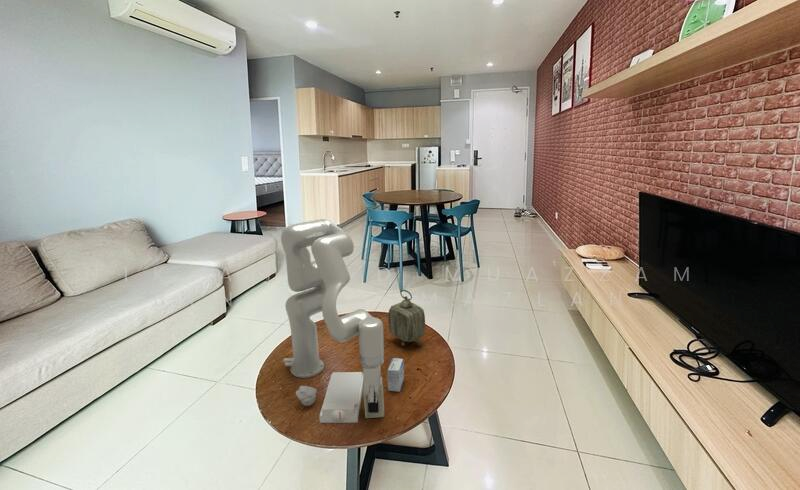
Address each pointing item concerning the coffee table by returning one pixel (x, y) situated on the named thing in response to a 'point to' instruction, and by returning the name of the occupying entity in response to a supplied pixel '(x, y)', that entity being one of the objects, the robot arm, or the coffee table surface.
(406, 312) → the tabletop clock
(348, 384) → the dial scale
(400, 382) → the medicine box
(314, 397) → the grey lumpy chunk
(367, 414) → the skincare box
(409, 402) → the coffee table surface
